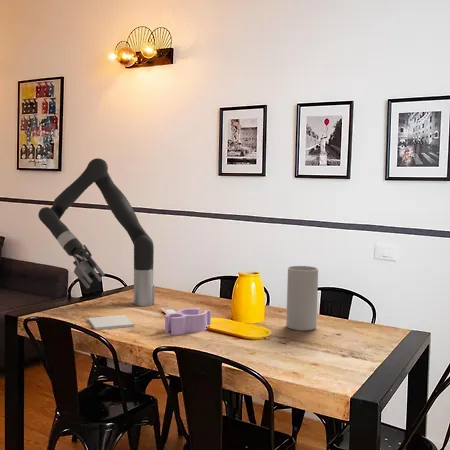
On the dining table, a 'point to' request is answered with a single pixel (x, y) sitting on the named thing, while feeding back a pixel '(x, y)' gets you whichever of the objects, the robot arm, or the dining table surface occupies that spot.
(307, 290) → the cylinder vase
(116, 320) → the grey mat
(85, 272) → the charcoal stool
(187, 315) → the clip
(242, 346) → the dining table surface
